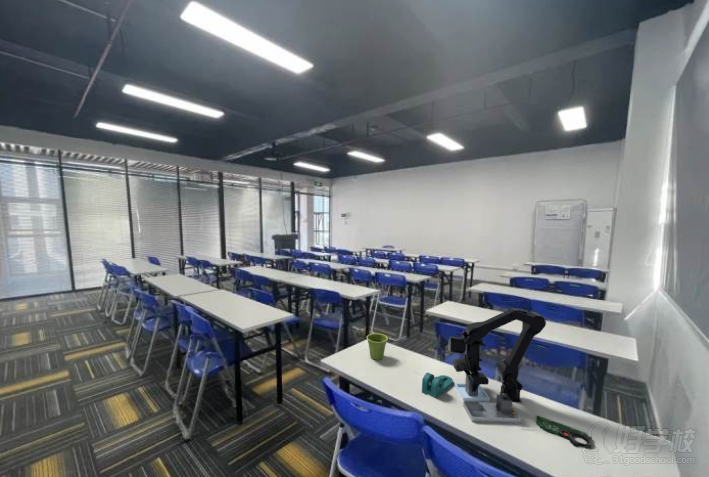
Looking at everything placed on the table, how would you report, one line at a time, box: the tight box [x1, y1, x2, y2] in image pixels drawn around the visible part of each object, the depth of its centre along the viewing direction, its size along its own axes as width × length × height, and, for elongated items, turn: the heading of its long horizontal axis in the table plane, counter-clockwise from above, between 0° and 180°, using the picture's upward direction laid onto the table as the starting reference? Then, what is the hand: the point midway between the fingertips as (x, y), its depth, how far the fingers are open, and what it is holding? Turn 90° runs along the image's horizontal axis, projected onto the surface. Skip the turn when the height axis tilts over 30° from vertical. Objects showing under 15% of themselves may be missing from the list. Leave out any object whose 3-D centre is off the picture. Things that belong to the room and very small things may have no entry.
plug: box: [464, 373, 478, 396], centre depth 123 cm, size 4×4×9 cm
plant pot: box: [366, 333, 389, 361], centre depth 156 cm, size 12×12×11 cm
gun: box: [535, 415, 593, 450], centre depth 101 cm, size 16×2×10 cm
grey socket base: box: [462, 392, 522, 425], centre depth 109 cm, size 18×9×9 cm, turn 89°
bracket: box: [421, 372, 454, 399], centre depth 127 cm, size 18×7×8 cm, turn 134°
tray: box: [453, 382, 491, 403], centre depth 123 cm, size 11×11×2 cm
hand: (471, 388), depth 123 cm, fingers closed on plug, 4 cm apart
